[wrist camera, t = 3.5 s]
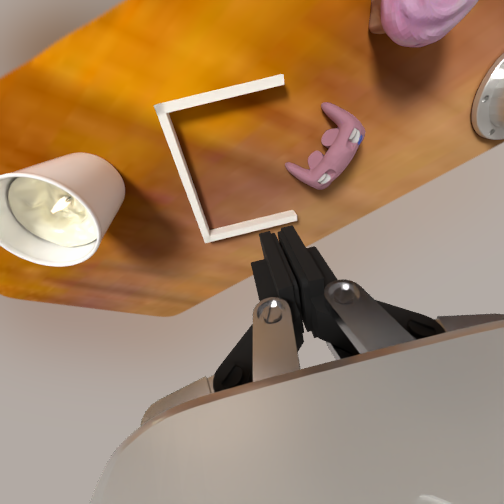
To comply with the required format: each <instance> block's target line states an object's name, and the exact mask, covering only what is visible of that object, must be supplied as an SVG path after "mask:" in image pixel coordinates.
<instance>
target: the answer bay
mask: <svg viewBox="0 0 504 504" xmlns="http://www.w3.org/2000/svg"><path fill="white" fill-rule="evenodd" d="M281 85H284V75H283V74H280V75H276V76H272V77H268V78H264V79H259V80H255V81H251V82H247V83H243V84H239V85H235V86H230V87H226V88H222V89H218V90H214V91H210V92H206V93H201V94H197V95H193V96H189V97H185V98H181V99H177V100H172V101H168V102H164V103H160V104H156V105H154V107H155V110H156V113H157V115H158V118H159V121H160V123H161V126H162V129H163V132H164V134H165V137H166V140H167V142H168V145H169V148H170V150H171V153H172V156H173V158H174V161H175V164H176V166H177V169H178V172H179V174H180V177H181V180H182V182H183V185H184V188H185V190H186V193H187V196H188V198H189V201H190V204H191V206H192V209H193V212H194V214H195V217H196V220H197V222H198V225H199V228H200V230H201V233H202V236H203V238H204V241H205V243H208V242H212V241H216V240H220V239H224V238H228V237H233V236H237V235H241V234H245V233H249V232H253V231H257V230H261V229H265V228H269V227H273V226H277V225H281V224H285V223H290V222H294V221H297V215H296V213H295V212H294V210H290V211H286V212H282V213H278V214H274V215H269V216H265V217H261V218H257V219H253V220H249V221H245V222H241V223H237V224H233V225H229V226H225V227H221V228H216V229H212V230H209V227H208V224H207V221H206V218H205V216H204V213H203V210H202V207H201V204H200V201H199V198H198V195H197V193H196V190H195V187H194V184H193V181H192V178H191V175H190V172H189V170H188V167H187V164H186V161H185V158H184V155H183V152H182V149H181V147H180V144H179V141H178V138H177V135H176V132H175V129H174V126H173V124H172V121H171V118H170V115H169V112H173V111H177V110H181V109H185V108H190V107H194V106H198V105H202V104H206V103H210V102H214V101H219V100H223V99H227V98H231V97H235V96H239V95H243V94H247V93H252V92H256V91H260V90H264V89H268V88H272V87H276V86H281Z"/></svg>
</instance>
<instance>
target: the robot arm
mask: <svg viewBox="0 0 504 504" xmlns="http://www.w3.org/2000/svg"><path fill="white" fill-rule="evenodd" d="M472 124H473V128H474V129H475V131H476V133H477V134H479V135H480V136H481V137H484V138H487V139H492V140H501V139H504V53H503V54H502V55H501V56H500V57H499V58H498V59H497V60H496V62H495V63H494V64H493V66H492V67H491V68H490V69H489V71H488V72H487V74H486V76H485V77H484V79H483V81H482V82H481V84H480V87H479V89H478V91H477V93H476V96H475V99H474V102H473V108H472ZM259 237H260V241H261V246H262V250H263V254H264V259H263V260H259V261H256V262H252V263H251V266H252V270H253V275H254V279H255V283H256V287H257V292H258V296H259V300H260V302H259V303H258V304H257V305H256V306H255V308H254V310H253V324H252V325H251V327H250V328H249V329H248V330H247V332H246V333H245V334H244V336H243V337H242V338H241V340H240V341H239V342H238V343H237V345H236V346H235V347H234V348H233V350H232V351H231V352H230V354H229V355H228V356H227V357H226V359H225V360H224V361H223V363H222V364H221V365H220V366H219V368H218V369H217V371H216V373H215V375H213V376H211V377H209V378H207V377H206V376H205V377H203V378H201V379H199V380H197V381H195V382H193V383H191V384H189V385H187V386H185V387H183V388H181V389H179V390H177V391H175V392H173V393H171V394H169V395H167V396H166V397H163V398H161V399H159V400H158V401H156V402H155V403H153V404H152V405H151V406H150V407H149V408H148V409H147V411H146V412H145V414H144V416H143V418H142V421H141V427H139V428H138V429H137V430H136V431H134V432H133V433H132V434H131V435H130V436H129V437H128V438H127V439H126V440H124V441H123V442H122V443H121V445H119V447H118V448H117V449H116V450H115V451H114V453H113V454H112V455H111V457H110V459H109V461H108V462H107V464H106V466H105V467H104V469H103V472H102V474H101V476H100V478H99V480H98V483H97V485H96V488H95V490H94V493H93V495H92V498H91V501H90V504H504V314H478V315H460V316H459V315H457V316H438V317H437V319H434V320H433V319H432V318H429V317H427V316H425V315H422V314H419V313H416V312H412V311H409V310H406V309H403V308H399V307H396V306H393V305H390V304H387V303H383V302H380V301H376V300H374V299H373V298H372V297H371V296H370V295H369V294H368V293H367V292H366V291H365V290H364V289H363V288H362V287H361V286H360V285H358V284H357V283H355V282H353V281H350V280H337V278H336V277H335V275H334V274H333V272H332V271H331V269H330V268H329V266H328V265H327V263H326V262H325V260H324V259H323V257H322V256H321V254H320V253H319V251H318V250H317V248H316V247H310V248H306V247H305V246H304V244H303V242H302V241H301V239H300V237H299V236H298V234H297V232H296V231H295V229H294V227H293V226H292V225H291V226H287V227H283V228H281V231H280V232H278V238H279V241H278V239H277V237H276V235H275V233H272V234H271V233H270V231H268V232H264V233H260V234H259ZM302 320H303V321H302ZM303 323H304V325H305V328H306V330H307V332H309V331H312V334H313V336H314V338H316V337H318V338H320V339H322V340H324V341H326V343H327V346H328V348H329V349H330V351H331V352H332V354H333V355H334V357H335V359H336V360H335V361H331V362H328V363H324V364H320V365H317V366H312V367H308V368H304V369H301V370H300V364H299V358H298V351H299V349H300V347H301V345H302V344H303V342H304V340H303V334H302V333H304V328H303Z"/></svg>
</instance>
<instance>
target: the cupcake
mask: <svg viewBox="0 0 504 504" xmlns="http://www.w3.org/2000/svg"><path fill="white" fill-rule="evenodd" d="M477 2H478V0H371V15H370V20H369V30H370V31H371V32H372V33H374V34H384V33H386V34H387V35H388V36H389V37H390V38H391V39H392V41H394V42H395V43H397V44H398V45H401V46H405V47H423V46H425V45H428V44H431V43H434V42H436V41H438V40H439V39H441V38H442V37H444V36H445V35H446V34H447V33H448V32H449V31H450V30H451V29H452V28H453V27H454V26H456V25H457V24H458V23H459V22H460V21H461V20H462V19H463V18H464V17H465V16H466V15H467V13H468V12H469V11H470V10H471V9H472V8H473V7H474V5H475V4H476V3H477Z"/></svg>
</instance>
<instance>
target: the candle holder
mask: <svg viewBox="0 0 504 504" xmlns="http://www.w3.org/2000/svg"><path fill="white" fill-rule="evenodd" d="M124 198H125V185H124V182H123V179H122V177H121V176H120V174H119V173H118V171H117V170H116V169H115V168H114V167H113V166H112V165H111V164H110V163H109V162H107V161H106V160H104V159H102V158H100V157H98V156H96V155H93V154H89V153H72V154H68V155H65V156H61V157H58V158H55V159H52V160H49V161H46V162H43V163H40V164H36V165H33V166H30V167H27V168H24V169H21V170H18V171H15V172H12V173H7V174H3V175H0V245H1V246H2V247H3V248H5V249H6V250H8V251H9V252H11V253H13V254H14V255H16V256H18V257H20V258H23V259H25V260H28V261H30V262H34V263H37V264H41V265H47V266H59V267H60V266H71V265H75V264H79V263H81V262H83V261H85V260H87V259H89V258H90V257H91V256H92V255H93V254H94V253H95V252H96V251H97V249H98V247H99V245H100V242H101V240H102V239H103V237H104V235H105V233H106V231H107V230H108V228H109V226H110V224H111V223H112V221H113V219H114V217H115V216H116V214H117V212H118V210H119V209H120V207H121V205H122V203H123V201H124Z"/></svg>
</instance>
